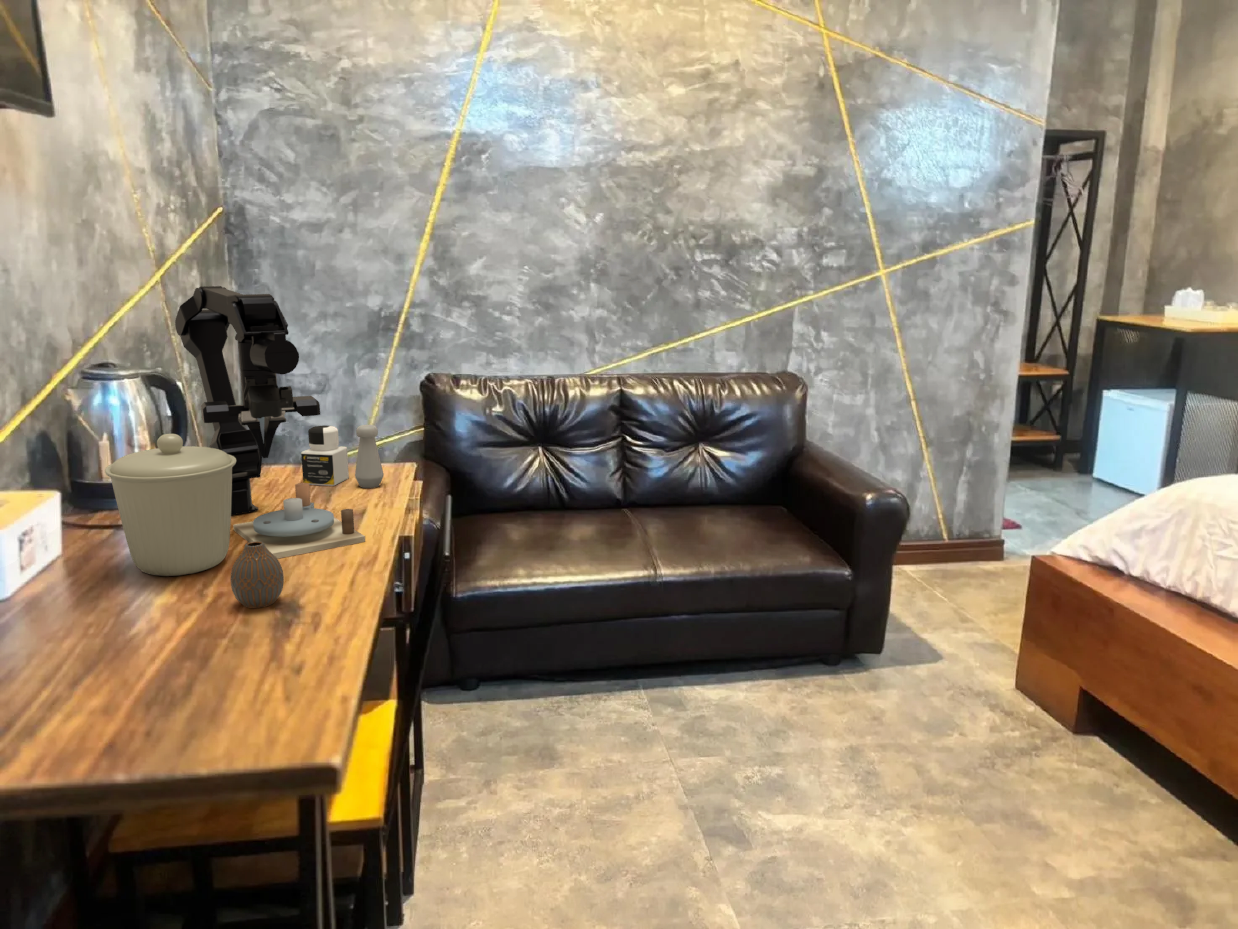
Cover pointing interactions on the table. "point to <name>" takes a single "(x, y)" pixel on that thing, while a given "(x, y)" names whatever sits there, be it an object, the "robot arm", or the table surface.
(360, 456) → the salt shaker
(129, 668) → the table surface
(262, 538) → the board
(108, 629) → the table surface
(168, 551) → the canister
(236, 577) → the vase
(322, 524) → the flange plate
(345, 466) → the medicine bottle
